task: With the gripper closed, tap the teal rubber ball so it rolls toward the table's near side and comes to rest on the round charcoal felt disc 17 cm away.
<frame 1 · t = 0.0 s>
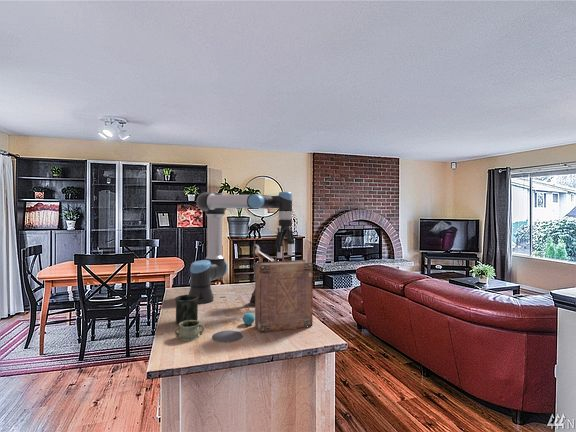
hand: (285, 256, 193), 28 cm above the table, tool pointing down, fingers open, 13 cm apart
bird statue: (263, 303, 198), on the table
vessel: (189, 338, 143), on the table
ball: (248, 318, 161), on the table
mug: (186, 323, 162), on the table
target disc: (227, 336, 145), on the table
book: (283, 327, 158), on the table
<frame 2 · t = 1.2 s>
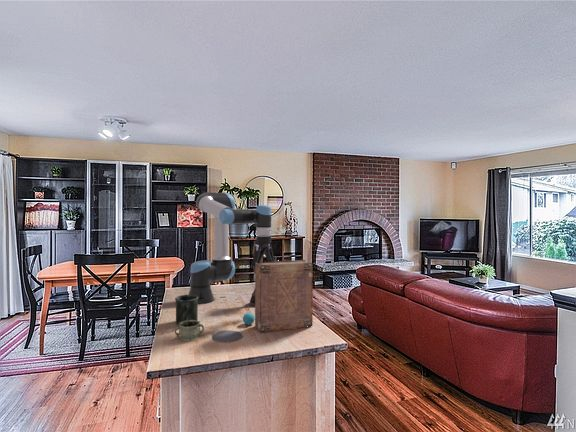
hand: (263, 277, 172), 20 cm above the table, tool pointing down, fingers open, 13 cm apart
nothing on the table moved.
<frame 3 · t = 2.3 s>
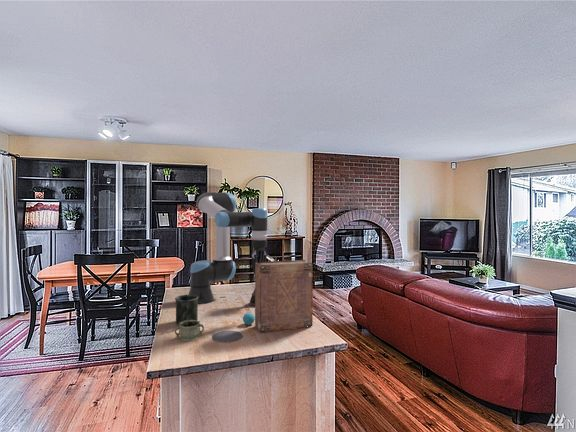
hand: (259, 286, 169), 16 cm above the table, tool pointing down, fingers closed
nothing on the table moved.
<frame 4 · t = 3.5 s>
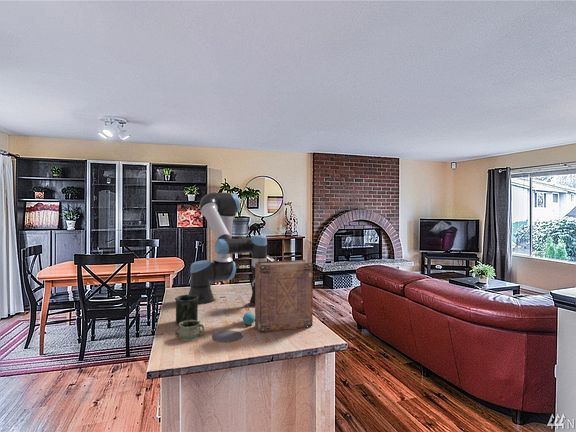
hand: (259, 313, 169), 3 cm above the table, tool pointing down, fingers closed
nothing on the table moved.
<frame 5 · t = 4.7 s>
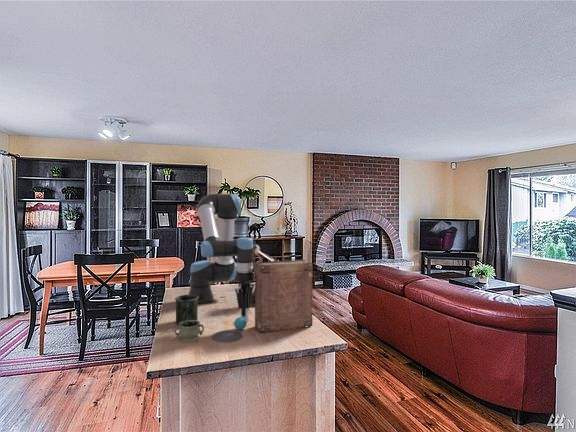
hand: (244, 322, 157), 2 cm above the table, tool pointing down, fingers closed
ball: (240, 323, 154), on the table
everything else where it was.
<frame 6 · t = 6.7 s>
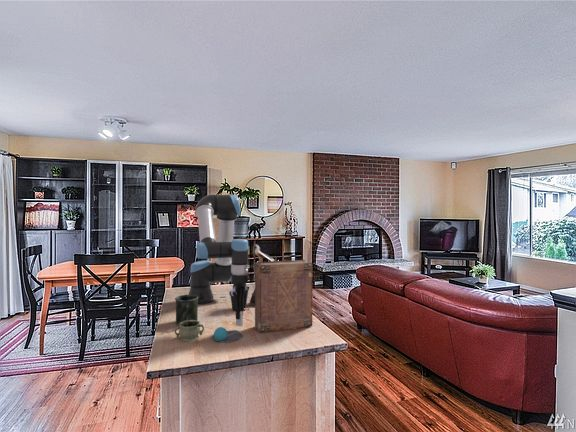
hand: (239, 325, 154), 2 cm above the table, tool pointing down, fingers closed
ball: (220, 334, 140), on the table
everything else where it was.
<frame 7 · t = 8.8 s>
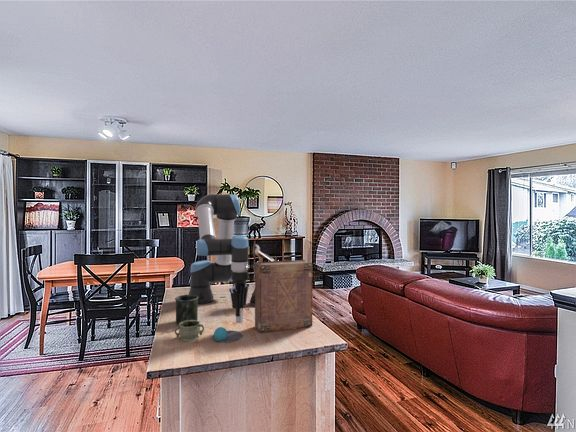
hand: (239, 322, 154), 3 cm above the table, tool pointing down, fingers closed
nothing on the table moved.
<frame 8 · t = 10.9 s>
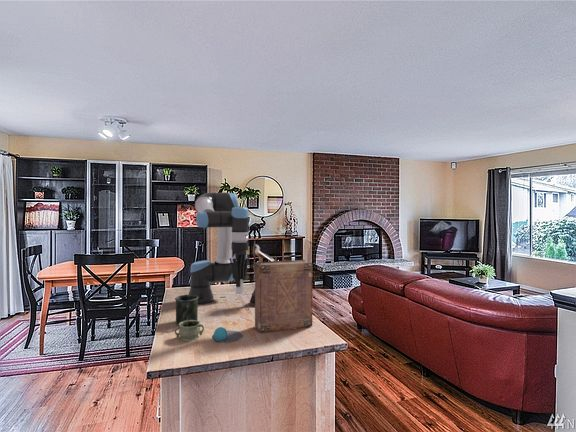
hand: (239, 293, 153), 16 cm above the table, tool pointing down, fingers closed
nothing on the table moved.
at the end: ball 5.4 cm from the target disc (horizontally); ball at rest at the end (0.0 cm/s); ball moved 22.4 cm from its start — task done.
